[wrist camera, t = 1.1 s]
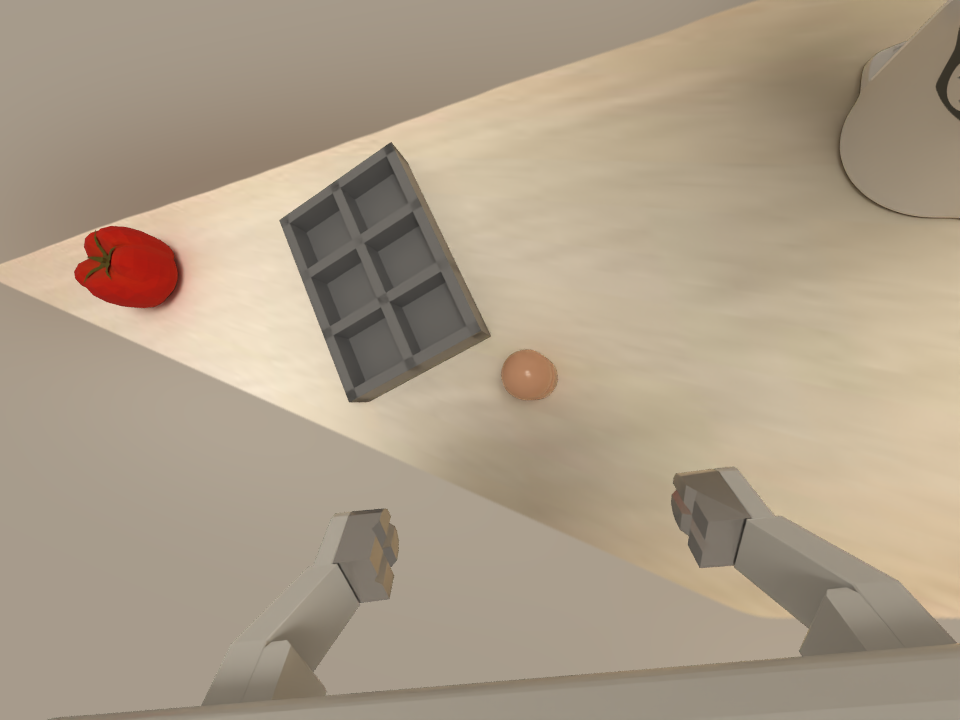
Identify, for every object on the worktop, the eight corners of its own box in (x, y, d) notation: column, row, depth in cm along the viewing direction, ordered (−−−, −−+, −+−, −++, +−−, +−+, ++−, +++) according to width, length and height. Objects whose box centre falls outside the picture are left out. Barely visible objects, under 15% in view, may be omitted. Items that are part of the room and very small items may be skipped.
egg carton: (406, 161, 50) (391, 142, 46) (491, 336, 45) (481, 330, 41) (302, 232, 53) (279, 220, 50) (368, 401, 48) (349, 402, 45)
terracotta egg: (545, 347, 43) (534, 337, 35) (565, 387, 42) (558, 385, 34) (506, 367, 44) (487, 361, 36) (525, 406, 43) (509, 409, 35)
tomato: (171, 325, 59) (98, 313, 50) (126, 289, 62) (50, 272, 54) (203, 262, 58) (135, 239, 50) (156, 230, 62) (84, 202, 53)
